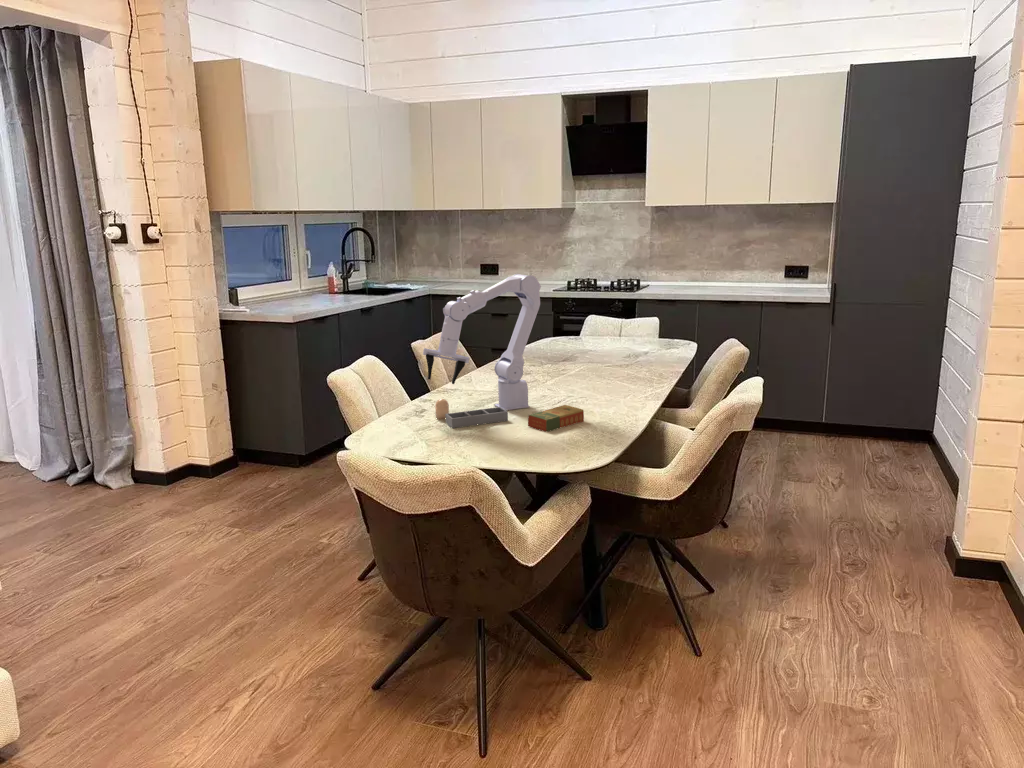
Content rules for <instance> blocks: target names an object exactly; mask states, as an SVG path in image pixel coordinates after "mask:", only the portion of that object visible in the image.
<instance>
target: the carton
mask: <svg viewBox="0 0 1024 768" xmlns="http://www.w3.org/2000/svg"><path fill="white" fill-rule="evenodd" d="M584 412H585V411H584V409H582V408H579V407H576V406H571V405H567V404H564V405H559V406H557V407H553V408H549V409H545V410H542V411H539V412H535V413H531V414H528V417H527V427H528V426H530V427H529V428H531V427H533V428H532V429H535V428H536V430H539V429H540V431H542V430H543V432H546V431H548V432H551V431H554V429H555V430H558V429H561V428H560V427H562V428H565V427H569V426H572V425H575V424H578V423H583V422H584V420H585V413H584ZM568 425H569V426H568ZM564 426H565V427H564ZM557 428H558V429H557ZM550 430H551V431H550Z"/></svg>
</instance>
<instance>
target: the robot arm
mask: <svg viewBox="0 0 1024 768" xmlns="http://www.w3.org/2000/svg"><path fill="white" fill-rule="evenodd" d="M541 288H542V286H541V284H540V281H539V280H538V278H536V276H534V275H532V274H531V275H526V274H521V273H515V274H513V275H509V276H507V277H506V278H505V279H503V280H500V281H499V282H497V283H496V284H493V285H492V286H489V287H488V288H486V289H484V290H482V291H480V290H478V289H477V290H474V289H472V290H469V293H468V294H466V295H464V296H462V297H461V296H459V297H456V300H450V301H448V302H447V303H446V305H445V306H444V307H443V308H442V312H443V315H444V320H443V324H442V329H441V334H440V339H439V345H438V349H430V348H425V347H423V351H422V355H423V356H425V359H426V364H427V380H431V378H432V371H433V365H434V362H435V358H440V359H443V360H450V361H454V362H455V366H454V371H453V376H452V380H451V384H452V385H455V382H456V380H457V378H458V376H459V375H460V373H461V371H462V370H463V369H464V368H465V366H466V364H469V363H470V362H469V361H470V357H469V356H464V355H461V354H457V351H458V345H459V340H460V335H461V330H462V326H463V322H464V320H466V318H467V317H468V315H471V314H473V313H474V312H476V311H479V310H481V309H482V308H484V307H486V305H487V302H488V301H490V300H493V299H494V298H497V297H499V296H501V295H504V294H506V293H509V292H510V293H513V294H515V295H516V296H517V298H518V299H519V301H520V303H521V305H522V306H521V309H520V312H519V314H518V317H517V320H516V323H515V325H514V328H513V331H512V335H511V338H510V341H509V343H508V346H507V349H506V350H504V352H503V353H502V354H501V356H500V357H499V359H498V361H496V362H495V365H494V373H495V375H496V376H497V387H498V388H497V389H498V403H495V404H494V406H495V407H501V408H503V409H504V410H506V411H509V410H510V411H511V410H519V409H526V408H530V406H529V387H528V386H529V385H528V382H527V381H526V380H525V379H522V378H523V375H524V365H525V360H524V357H523V355H524V353H525V349H526V346H527V343H528V340H529V338H530V335H531V332H532V329H533V326H534V323H535V320H536V318H537V314H538V312H539V310H540V307H541V298H540V297H541V295H540V290H541Z"/></svg>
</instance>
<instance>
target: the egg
mask: <svg viewBox="0 0 1024 768" xmlns="http://www.w3.org/2000/svg"><path fill="white" fill-rule="evenodd" d="M434 405H435V406H434V407H435V419H436V418H437V419H436V420H446V419H445V418H446V417H445V414H449V413H450V409H449V408H450V407H449V402H448V401H447V400H446V399H444V398H440V399H438V400H437V401H436V402H435V404H434Z"/></svg>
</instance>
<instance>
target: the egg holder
mask: <svg viewBox="0 0 1024 768" xmlns="http://www.w3.org/2000/svg"><path fill="white" fill-rule="evenodd" d="M445 417H446V419H445V424H446V423H447V424H448V425H447V424H446V425H447V426H448V427H449V428H451V427H452V428H451V429H456V428H455V427H459V428H463V427H462V426H467V427H470V426H469V425H474V426H478V425H477V424H481V425H486V424H485V423H488V424H494V423H493V422H496V423H502V422H501V421H503V422H508V421H509V410H504V409H503V408H501V407H496V406H495V407H489V408H487V407H486V408H481V409H473V410H466V411H457V412H449V414H445Z"/></svg>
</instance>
